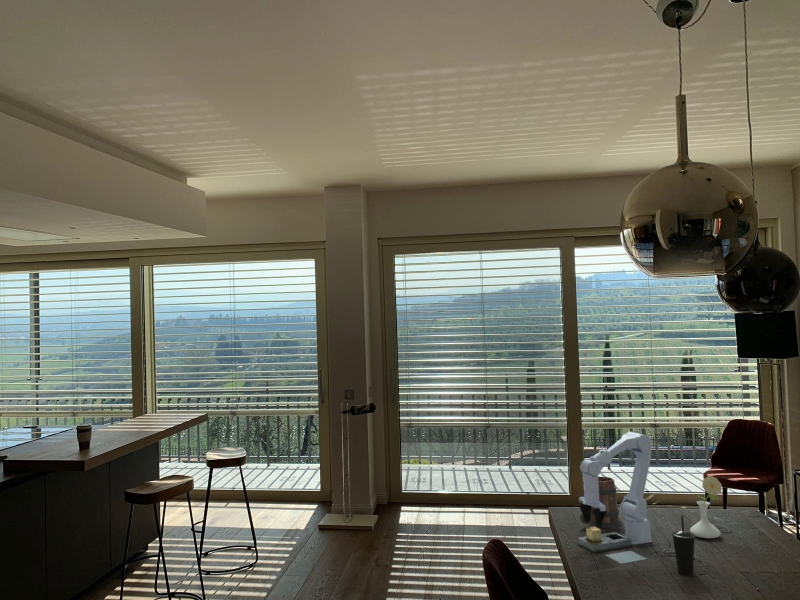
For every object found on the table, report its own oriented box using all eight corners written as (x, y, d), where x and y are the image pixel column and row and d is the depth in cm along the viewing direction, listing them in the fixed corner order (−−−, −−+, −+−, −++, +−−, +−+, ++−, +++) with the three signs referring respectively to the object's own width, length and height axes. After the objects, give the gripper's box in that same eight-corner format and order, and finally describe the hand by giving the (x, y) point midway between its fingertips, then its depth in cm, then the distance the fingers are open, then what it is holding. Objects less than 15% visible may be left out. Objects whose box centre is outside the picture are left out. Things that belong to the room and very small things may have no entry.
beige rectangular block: (595, 544, 236) (594, 526, 237) (601, 547, 232) (600, 529, 233) (586, 545, 235) (586, 527, 235) (593, 548, 231) (592, 530, 232)
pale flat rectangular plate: (630, 552, 228) (630, 550, 228) (647, 560, 219) (647, 558, 219) (605, 556, 224) (605, 555, 224) (621, 565, 215) (620, 563, 215)
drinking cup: (688, 579, 202) (684, 520, 203) (669, 571, 208) (665, 514, 210) (702, 574, 205) (698, 516, 206) (683, 567, 212) (679, 511, 213)
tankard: (600, 515, 275) (598, 472, 276) (632, 524, 261) (629, 479, 262) (567, 525, 262) (565, 480, 264) (598, 535, 248) (596, 487, 249)
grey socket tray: (615, 539, 243) (614, 531, 243) (631, 547, 233) (631, 539, 233) (578, 545, 237) (577, 537, 237) (593, 553, 228) (593, 545, 228)
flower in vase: (691, 539, 240) (687, 477, 242) (689, 530, 251) (685, 471, 252) (727, 542, 235) (723, 479, 237) (723, 533, 246) (719, 473, 247)
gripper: (572, 487, 241) (573, 520, 240) (594, 495, 227) (596, 531, 226) (586, 485, 243) (588, 518, 242) (609, 493, 229) (611, 528, 228)
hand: (593, 524), depth 234 cm, fingers open, 7 cm apart
